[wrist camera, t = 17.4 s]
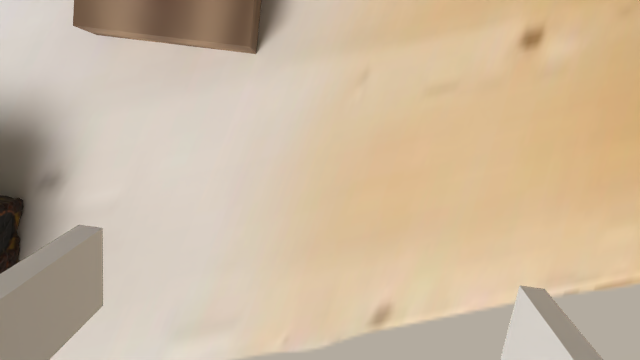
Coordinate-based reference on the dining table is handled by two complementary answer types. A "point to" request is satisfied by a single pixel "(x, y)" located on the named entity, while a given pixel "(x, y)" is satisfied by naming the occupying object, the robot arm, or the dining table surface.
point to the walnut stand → (174, 21)
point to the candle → (9, 231)
